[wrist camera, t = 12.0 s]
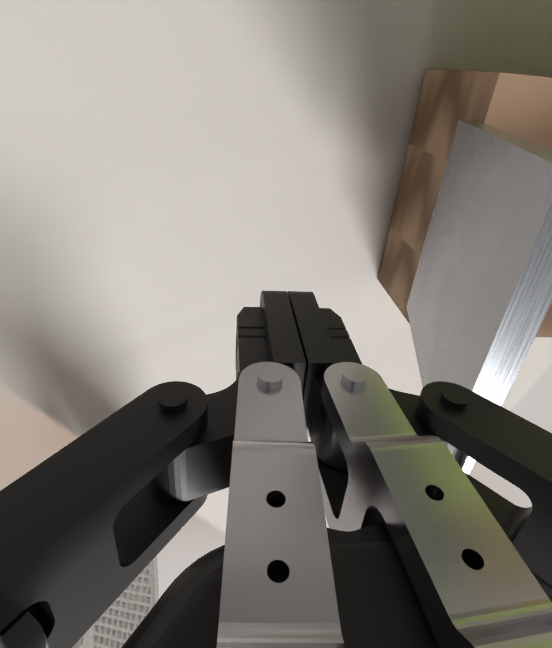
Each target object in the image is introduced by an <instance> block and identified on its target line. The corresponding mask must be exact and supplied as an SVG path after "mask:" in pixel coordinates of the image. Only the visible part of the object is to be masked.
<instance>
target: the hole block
mask: <svg viewBox="0 0 552 648" xmlns="http://www.w3.org/2000/svg"><path fill="white" fill-rule="evenodd" d="M458 120H468V121H477V122H482V123H485V124H487V125H490V126H492V127H495V128H497V129H500V130H503V131H505V132H508V133H510V134H513V135H515V136H518V137H520V138H523V139H525V140H528V141H530V142H533V143H535V144H538V145H540V146H543V147H545V148H548V149H550V150H552V78H551V77H541V76H532V75H522V74H512V73H502V72H483V71H460V70H437V69H426V70H425V75H424V79H423V83H422V88H421V92H420V97H419V101H418V105H417V110H416V114H415V118H414V123H413V127H412V131H411V136H410V140H409V145H408V149H407V153H406V158H405V162H404V166H403V171H402V175H401V179H400V184H399V188H398V193H397V197H396V201H395V206H394V210H393V214H392V219H391V223H390V227H389V232H388V236H387V240H386V245H385V249H384V254H383V258H382V262H381V267H380V271H379V275H378V280H379V282H380V283H381V285H382V286H383V287H384V289H385V290H386V292H387V293H388V294H389V296H390V297H391V299H392V300H393V301H394V303H395V304H396V306H397V307H398V308H399V310H400V311H401V312H402V314H403V315H404V317H405V318H406V319H407V321H408V322H409V317H408V312H407V303H408V299H409V296H410V292H411V289H412V285H413V281H414V278H415V274H416V271H417V267H418V264H419V260H420V256H421V253H422V249H423V246H424V242H425V238H426V235H427V231H428V228H429V224H430V220H431V217H432V213H433V210H434V206H435V203H436V199H437V195H438V192H439V188H440V185H441V181H442V177H443V174H444V170H445V167H446V163H447V160H448V156H449V152H450V149H451V145H452V142H453V138H454V134H455V131H456V127H457V124H458ZM409 324H410V322H409ZM535 337H552V303H551V305H550V307H549V309H548V311H547V313H546V315H545V317H544V319H543V321H542V323H541V326H540V328H539V330H538V332H537V334H536V336H535Z"/></svg>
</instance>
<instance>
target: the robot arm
mask: <svg viewBox="0 0 552 648" xmlns="http://www.w3.org/2000/svg"><path fill="white" fill-rule="evenodd" d="M307 437H310V438H311V442H308V439H307ZM468 456H469V457H471V458H472V459H474V460H476V461H477V462H479V463H480V464H482V465H483V466H485V467H487V468H488V469H490V470H492V471H493V472H495V473H496V474H498V475H500V476H501V477H503V478H504V479H506V480H508V481H509V482H511V483H512V484H514V485H515V486H517V487H519V488H520V489H521V490H523V491H524V492H525V493H526V494H527V495H528V497H529V498H530V500H531V502H532V507H530V508H522V507H518V506H516V505H514V504H512V503H511V502H509V501H508V500H506V499H505V498H503V497H502V496H500V495H499V494H497V493H496V492H494V491H492V490H491V489H490V488H488V487H487V486H485V485H483V484H482V483H480V482H479V481H477V480H476V479H474V478H473V477H471V476H470V475H468V474H467V473H465V472H464V471H463V470H462V468H463V466H464V464H465V461H466V459H467V457H468ZM227 487H229V499H228V511H227V524H226V536H225V537H226V538H225V545H223V546H221V547H219V548H217V549H215V550H213V551H210V552H209V553H207V554H205V555H204V556H202V557H201V558H199V559H197V560H196V561H195V562H194V563H193V564H191V565H190V566H189V567H187V568H186V569H185V570H184V571H183V572H182V573H181V574H180V575H179V576H178V577H177V578H176V579H175V580H174V581H173V582H172V584H171V585H170V586H169V587H168V588H167V590H166V591H165V592H164V594H163V595H162V596H161V598H160V599H159V600H158V601H157V603H156V604H155V605H154V606H153V608H152V609H151V610H150V612H149V613H148V614H147V615H146V617H145V618H144V619H143V620H142V622H141V623H140V624H139V626H138V627H137V628H136V629H135V631H134V632H133V633H132V635H131V636H130V637H129V638H128V640H127V641H126V642H125V644H124V645H123V646H122V647H121V648H552V434H551V433H550V432H548V431H546V430H544V429H542V428H541V427H539V426H537V425H535V424H533V423H531V422H529V421H527V420H525V419H524V418H522V417H520V416H518V415H516V414H514V413H512V412H510V411H509V410H507V409H505V408H503V407H501V406H499V405H497V404H495V403H493V402H492V401H490V400H488V399H486V398H484V397H482V396H480V395H478V394H477V393H475V392H473V391H471V390H469V389H467V388H465V387H463V386H460V385H458V384H454V383H451V382H443V381H436V382H431V383H428V384H427V385H425V386H424V387H423V389H422V391H421V394H420V396H417V395H413V394H408V393H403V392H399V391H395V390H391V389H389V388H388V387H387V386H386V384H385V382H384V381H383V379H382V378H381V376H380V375H379V374H378V373H377V372H376V371H374V370H373V369H371V368H369V367H367V366H365V365H362V363H361V361H360V358H359V356H358V354H357V352H356V350H355V347H354V345H353V343H352V341H351V339H349V334H348V332H347V330H346V328H345V326H344V323H343V321H342V319H341V317H340V316H338V315H337V314H336V313H335V312H333V311H332V310H331V309H328V308H319V306H318V304H317V301H316V299H315V296H314V294H313V292H294V291H288V292H286V291H261V298H260V307H244V308H243V309H242V310H241V312H240V313H239V314H238V316H237V332H236V381H235V382H234V383H233V384H232V385H231V386H229V387H228V388H226V389H224V390H222V391H219V392H216V393H212V394H208V395H206V394H205V393H204V392H203V391H202V390H201V389H200V388H199V387H197V386H195V385H193V384H190V383H187V382H177V381H174V382H166V383H162V384H159V385H156V386H154V387H152V388H150V389H149V390H147V391H146V392H144V393H143V394H141V395H140V396H138V397H137V398H136V399H134V400H133V401H131V402H130V403H128V404H127V405H125V406H124V407H122V408H121V409H119V410H118V411H117V412H115V413H114V414H112V415H111V416H109V417H108V418H106V419H105V420H103V421H102V422H100V423H99V424H98V425H96V426H95V427H93V428H92V429H90V430H89V431H87V432H86V433H84V434H83V435H81V436H80V437H79V438H77V439H76V440H74V441H73V442H71V443H70V444H68V445H67V446H65V447H64V448H63V449H61V450H60V451H58V452H57V453H55V454H54V455H52V456H51V457H49V458H48V459H46V460H45V461H44V462H42V463H41V464H39V465H38V466H36V467H35V468H33V469H32V470H30V471H29V472H27V473H26V474H25V475H23V476H22V477H20V478H19V479H17V480H16V481H14V482H13V483H11V484H10V485H8V486H7V487H6V488H4V489H3V490H1V491H0V648H72V647H73V646H74V645H75V644H76V643H77V642H78V641H79V640H80V638H81V637H82V636H83V635H84V634H85V633H86V632H87V631H88V630H89V629H90V627H91V626H92V625H93V624H94V623H95V622H96V621H97V620H98V619H99V618H100V617H101V615H102V614H103V613H104V612H105V611H106V610H107V609H108V608H109V607H110V606H111V605H112V603H113V602H114V601H115V600H116V599H117V598H118V597H119V596H120V595H121V594H122V593H123V591H124V590H125V589H126V588H127V587H128V586H129V585H130V584H131V583H132V582H133V581H134V579H135V578H136V577H137V576H138V575H139V574H140V573H141V572H142V571H143V570H144V569H145V567H146V566H147V565H148V564H149V563H150V562H151V561H152V560H153V559H154V558H155V557H156V555H157V554H158V553H159V552H160V551H161V550H162V549H163V548H164V546H166V544H167V543H168V542H169V541H170V540H171V539H172V538H173V537H174V536H175V535H176V534H177V532H178V531H179V530H180V529H181V528H182V527H183V526H184V525H185V524H186V523H187V522H188V520H189V519H190V518H191V517H192V516H193V515H194V514H195V513H196V512H197V511H198V510H199V508H200V507H201V506H202V505H203V504H204V502H205V500H206V498H207V495H208V494H210V493H213V492H216V491H219V490H222V489H225V488H227ZM324 511H325V512H324ZM325 515H326V518H327V521H328V525H329V528H327V527H326V520H325Z"/></svg>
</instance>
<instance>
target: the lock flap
mask: <svg viewBox="0 0 552 648" xmlns="http://www.w3.org/2000/svg"><path fill="white" fill-rule="evenodd" d="M551 303H552V150H550V149H548V148H545V147H543V146H540V145H538V144H535V143H533V142H530V141H528V140H525V139H523V138H520V137H518V136H515V135H513V134H510V133H508V132H505V131H503V130H500V129H497V128H495V127H492V126H490V125H487V124H485V123H482V122H477V121H468V120H458V124H457V127H456V131H455V134H454V138H453V142H452V145H451V149H450V152H449V156H448V160H447V163H446V167H445V170H444V174H443V177H442V181H441V185H440V188H439V192H438V195H437V199H436V203H435V206H434V210H433V213H432V217H431V220H430V224H429V228H428V231H427V235H426V238H425V242H424V246H423V249H422V253H421V256H420V260H419V264H418V267H417V271H416V274H415V278H414V281H413V285H412V289H411V292H410V296H409V299H408V303H407V312H408V317H409V322H410V327H411V332H412V337H413V341H414V346H415V351H416V356H417V361H418V366H419V371H420V376H421V381H422V385H423V387H424V386H425V385H427V384H428V383H431V382H436V381H443V382H451V383H454V384H458V385H460V386H463V387H465V388H467V389H469V390H471V391H473V392H475V393H477V394H478V395H480V396H482V397H484V398H486V399H488V400H490V401H492V402H493V403H495V404H497V405H499V406H501V407H502V405H503V402H504V400H505V398H506V396H507V394H508V392H509V390H510V388H511V386H512V384H513V382H514V380H515V377H516V375H517V373H518V371H519V369H520V367H521V365H522V363H523V361H524V359H525V357H526V355H527V353H528V350H529V348H530V346H531V344H532V342H533V340H534V338H535V336H536V334H537V332H538V330H539V328H540V326H541V323H542V321H543V319H544V317H545V315H546V313H547V311H548V309H549V307H550V305H551ZM475 461H476V460H474V459H472V458H471V457H469V456H468V457H467V459H466V461H465V464H464V466H463V468H462V470H463V471H464V472H465V473H467V474H469V473H470V471H471V469H472V467H473V465H474V463H475Z"/></svg>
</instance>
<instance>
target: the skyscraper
mask: <svg viewBox="0 0 552 648" xmlns="http://www.w3.org/2000/svg"><path fill="white" fill-rule="evenodd" d="M157 601H158V570H157V555H156V557H155V558H154V559H153V560H152V561H151V562H150V563H149V564H148V565H147V566H146V567H145V569H144V570H143V571H142V572H141V573H140V574H139V575H138V576H137V577H136V578H135V579H134V581H133V582H132V583H131V584H130V585H129V586H128V587H127V588H126V589H125V590H124V591H123V593H122V594H121V595H120V596H119V597H118V598H117V599H116V600H115V601H114V602H113V603H112V605H111V606H110V607H109V608H108V609H107V610H106V611H105V612H104V613H103V614H102V615H101V617H100V618H99V619H98V620H97V621H96V622H95V623H94V624H93V625H92V626H91V627H90V629H89V630H88V631H87V632H86V633H85V634H84V635H83V636H82V637H81V638H80V640H79V641H78V642H77V643H76V644H75V645H74V646H73V647H72V648H121V647H122V646H123V645H124V644H125V642H126V641H127V640H128V638H129V637H130V636H131V635H132V633H133V632H134V631H135V629H136V628H137V627H138V626H139V624H140V623H141V622H142V620H143V619H144V618H145V617H146V615H147V614H148V613H149V612H150V610H151V609H152V608H153V606H154V605H155V604H156V603H157Z"/></svg>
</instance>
